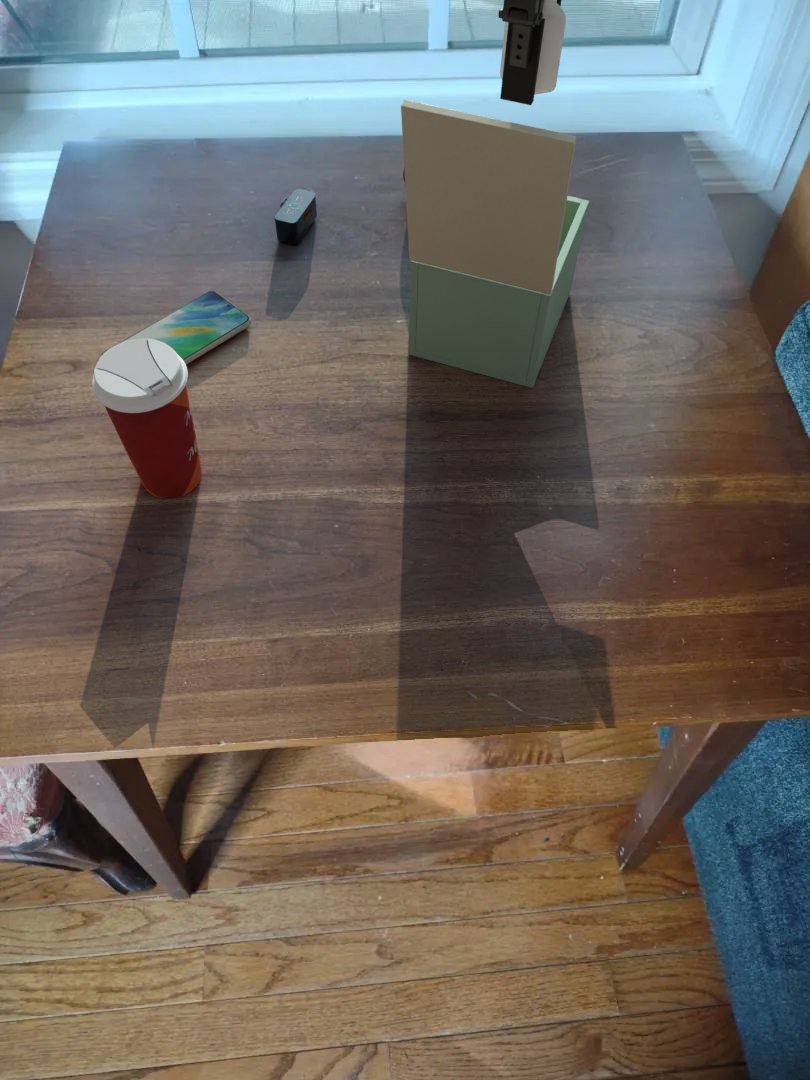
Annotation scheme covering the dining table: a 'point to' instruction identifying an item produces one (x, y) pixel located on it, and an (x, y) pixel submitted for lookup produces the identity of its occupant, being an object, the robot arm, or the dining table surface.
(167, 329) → the smartphone
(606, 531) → the dining table surface
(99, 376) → the paper cup
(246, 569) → the dining table surface
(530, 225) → the cover
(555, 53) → the pepper shaker
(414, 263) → the case
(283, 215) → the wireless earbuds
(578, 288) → the dining table surface
